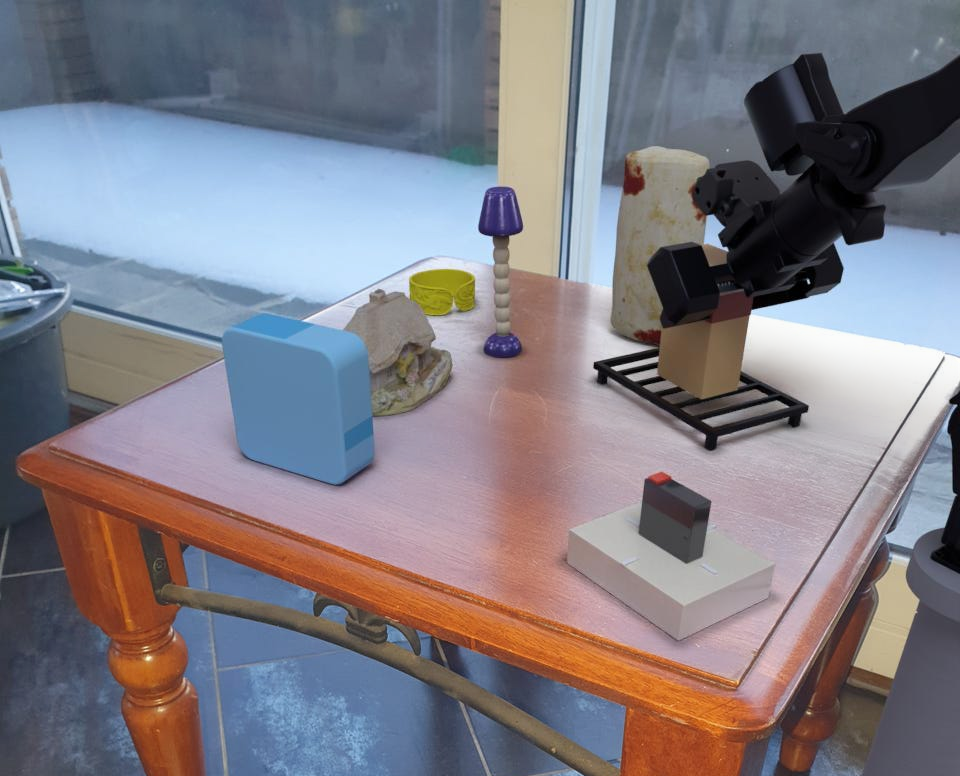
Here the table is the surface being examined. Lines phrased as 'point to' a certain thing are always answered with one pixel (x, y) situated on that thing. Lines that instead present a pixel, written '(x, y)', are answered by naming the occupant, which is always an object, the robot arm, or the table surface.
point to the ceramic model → (399, 352)
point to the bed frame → (694, 421)
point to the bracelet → (442, 290)
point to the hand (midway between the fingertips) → (696, 316)
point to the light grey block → (669, 573)
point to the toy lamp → (501, 263)
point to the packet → (708, 344)
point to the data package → (300, 396)
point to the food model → (652, 232)
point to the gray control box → (674, 517)
